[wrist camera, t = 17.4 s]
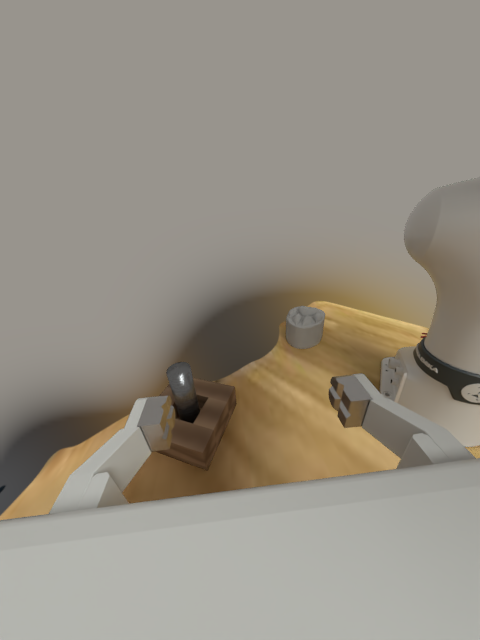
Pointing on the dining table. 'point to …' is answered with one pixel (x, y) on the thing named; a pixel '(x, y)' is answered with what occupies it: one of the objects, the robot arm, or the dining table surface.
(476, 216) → the robot arm
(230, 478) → the dining table surface
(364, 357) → the dining table surface
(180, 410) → the dark grey rounded rod
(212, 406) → the socket block
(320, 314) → the lumpy-topped squat cylinder
